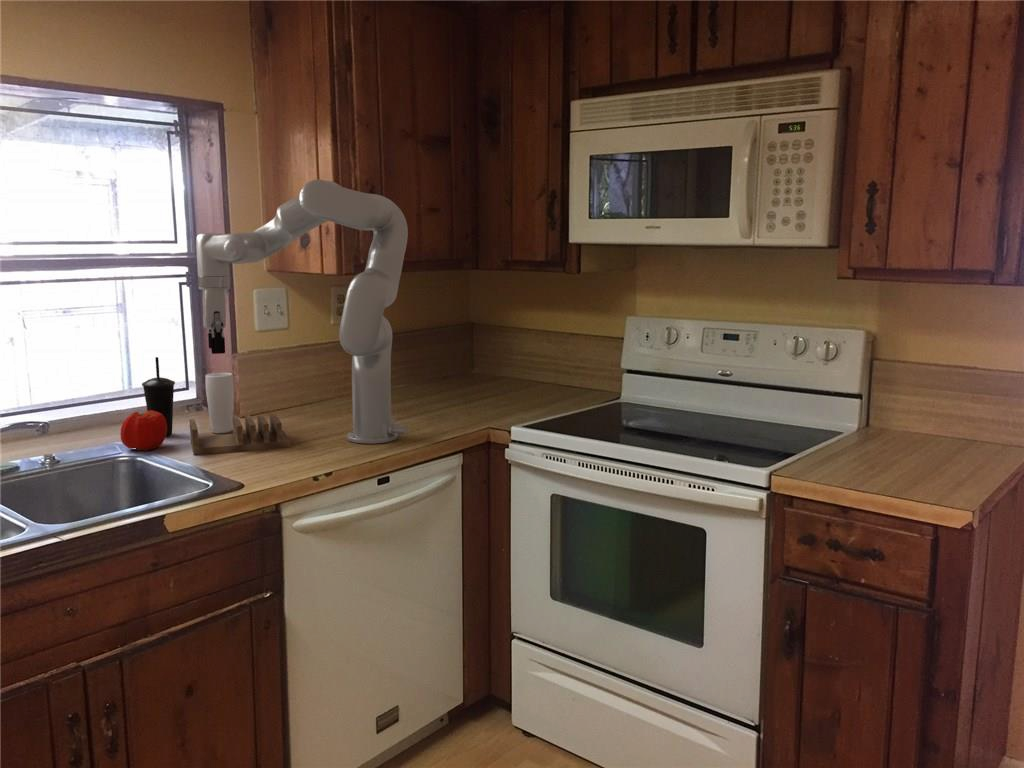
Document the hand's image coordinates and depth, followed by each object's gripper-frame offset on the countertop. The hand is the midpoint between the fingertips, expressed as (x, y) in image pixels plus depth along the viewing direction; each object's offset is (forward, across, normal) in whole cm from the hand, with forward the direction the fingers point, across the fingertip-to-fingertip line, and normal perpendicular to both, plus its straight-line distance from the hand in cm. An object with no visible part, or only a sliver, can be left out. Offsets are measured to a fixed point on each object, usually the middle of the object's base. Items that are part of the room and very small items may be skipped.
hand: (216, 350), depth 217 cm
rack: (+21, +16, +3) cm, 27 cm away
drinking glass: (+21, 0, 0) cm, 21 cm away
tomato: (+22, +11, -18) cm, 30 cm away
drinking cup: (+21, -1, -14) cm, 26 cm away
